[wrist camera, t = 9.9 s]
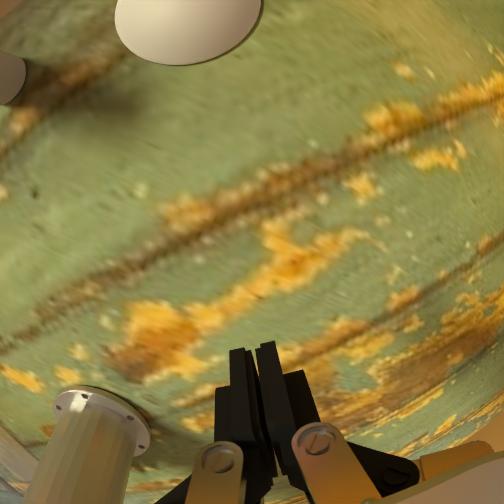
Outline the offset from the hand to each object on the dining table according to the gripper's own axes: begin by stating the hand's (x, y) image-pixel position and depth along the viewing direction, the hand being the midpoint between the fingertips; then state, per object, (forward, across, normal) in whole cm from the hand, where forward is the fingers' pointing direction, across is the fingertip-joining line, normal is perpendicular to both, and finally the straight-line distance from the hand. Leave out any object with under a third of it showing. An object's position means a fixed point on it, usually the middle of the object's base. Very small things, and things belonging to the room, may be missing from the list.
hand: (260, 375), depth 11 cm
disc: (+15, 0, -22) cm, 26 cm away
